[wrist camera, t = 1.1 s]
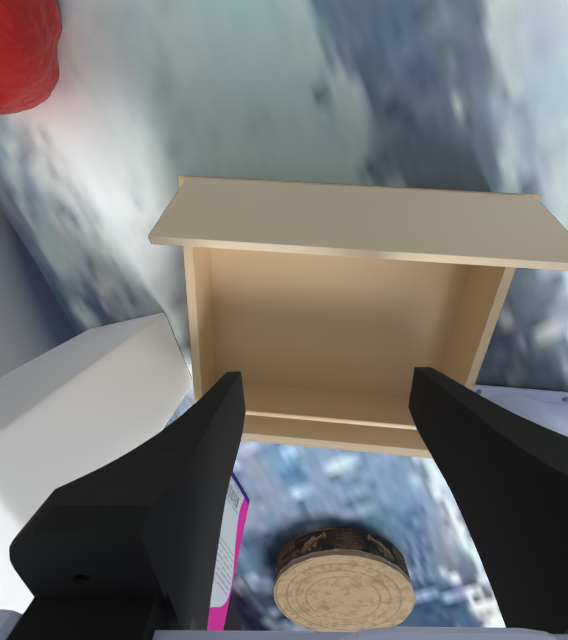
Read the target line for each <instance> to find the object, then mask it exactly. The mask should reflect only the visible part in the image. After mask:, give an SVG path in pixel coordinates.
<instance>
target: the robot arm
mask: <svg viewBox="0 0 568 640" xmlns="http://www.w3.org/2000/svg"><path fill="white" fill-rule="evenodd" d="M476 390H478V391H477V392H475V391H476ZM408 408H409V411H410V413H411V416H412V418H413V421H414V423H415V426H416V428H417V430H418V432H419V434H420V436H421V438H422V440H423V441H424V443H425V445H426V447H427V449H428V450H429V452H430V454H431V456H432V457H433V459H434V461H435V463H436V464H437V466H438V468H439V470H440V471H441V473H442V475H443V477H444V478H445V480H446V482H447V484H448V486H449V488H450V490H451V492H452V494H453V496H454V498H455V500H456V502H457V505H458V507H459V509H460V511H461V514H462V516H463V518H464V520H465V523H466V525H467V527H468V530H469V532H470V535H471V537H472V539H473V542H474V544H475V547H476V549H477V551H478V554H479V556H480V559H481V561H482V564H483V567H484V569H485V572H486V574H487V577H488V579H489V582H490V585H491V587H492V590H493V592H494V595H495V598H496V600H497V603H498V606H499V609H500V612H501V614H502V617H503V620H504V623H505V626H506V628H474V627H380V628H372V629H364V630H359V631H357V632H303V631H207V626H208V618H209V610H210V602H211V594H212V587H213V580H214V572H215V565H216V558H217V551H218V545H219V538H220V532H221V525H222V519H223V513H224V507H225V501H226V496H227V491H228V487H229V482H230V479H231V475H232V471H233V467H234V464H235V460H236V456H237V452H238V449H239V445H240V441H241V437H242V433H243V427H244V420H245V412H246V409H245V400H244V392H243V384H242V375H241V371H235V372H226V373H225V374H224V375H223V376H222V377H221V378H220V379H219V380H218V381H217V382H216V383H215V384H214V385H213V386H212V387H211V388H210V389H209V390H208V391H207V392H206V393H205V394H204V395H203V396H202V397H201V398H200V399H199V400H198V401H197V402H196V403H195V404H194V405H193V406H192V407H191V408H189V409H188V410H187V411H186V412H185V413H184V414H183V415H181V416H180V417H179V418H178V419H177V420H175V421H174V422H173V423H171V424H170V425H169V426H167V427H166V428H165V429H163V430H162V431H161V432H159V433H158V434H156V435H155V436H153V437H152V438H150V439H149V440H147V441H146V442H144V443H143V444H141V445H139V446H138V447H136V448H135V449H133V450H131V451H130V452H128V453H126V454H125V455H123V456H121V457H119V458H118V459H116V460H114V461H112V462H110V463H108V464H106V465H105V466H103V467H101V468H99V469H97V470H95V471H93V472H91V473H89V474H86V475H84V476H82V477H80V478H78V479H76V480H74V481H72V482H69V483H67V484H65V485H63V486H61V487H58V488H56V489H55V490H54V491H53V492H52V493H51V494H50V495H49V497H48V498H47V499H46V500H45V502H44V503H43V504H42V505H41V506H40V508H39V509H38V510H37V511H36V512H35V514H34V515H33V516H32V517H31V519H30V520H29V521H28V522H27V523H26V525H25V526H24V527H23V528H22V529H21V531H20V532H19V533H18V534H17V536H16V537H15V538H14V539H13V541H12V543H11V545H10V547H9V557H10V562H11V564H12V566H13V568H14V570H15V571H16V572H17V574H18V575H19V577H20V578H21V579H22V581H23V582H24V583H25V585H26V586H27V588H28V589H29V590H30V592H31V593H32V595H33V596H34V598H33V600H32V602H31V603H30V605H29V606H28V608H27V609H26V611H25V612H24V614H23V615H22V614H21V613H18V612H16V611H13V610H6V609H0V640H568V392H560V391H548V390H536V389H524V388H512V387H500V386H488V385H474V388H473V391H472V390H470V389H468V388H467V387H465V386H463V385H461V384H460V383H458V382H456V381H455V380H453V379H451V378H450V377H448V376H446V375H444V374H443V373H441V372H439V371H437V370H435V369H433V368H431V367H415V368H414V374H413V380H412V387H411V393H410V399H409V405H408Z"/></svg>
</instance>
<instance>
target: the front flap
mask: <svg viewBox="0 0 568 640" xmlns="http://www.w3.org/2000/svg"><path fill="white" fill-rule="evenodd" d="M148 237H149V240H150V242H151V244H161V245H176V246H192V247H207V248H222V249H238V250H253V251H269V252H284V253H299V254H315V255H330V256H346V257H361V258H376V259H392V260H407V261H423V262H438V263H454V264H469V265H484V266H500V267H515V268H531V269H546V270H561V271H568V231H567V230H566V229H565V228H564V227H563V225H562V224H561V223H560V222H559V221H558V220H557V219H556V218H555V217H554V216H553V215H552V214H551V213H550V212H549V211H548V210H547V209H546V208H545V206H544V205H543V204H542V203H541V202H540V201H539V200H538V199H537V198H536V197H535V196H519V195H501V194H482V193H464V192H445V191H427V190H409V189H390V188H372V187H353V186H335V185H316V184H298V183H279V182H261V181H242V180H224V179H205V178H186V179H185V181H184V182H183V184H182V185H181V187H180V188H179V190H178V191H177V193H176V194H175V196H174V197H173V199H172V200H171V202H170V203H169V205H168V206H167V208H166V210H165V211H164V213H163V214H162V216H161V217H160V219H159V220H158V222H157V223H156V225H155V226H154V228H153V229H152V231H151V232H150V234H149V235H148Z"/></svg>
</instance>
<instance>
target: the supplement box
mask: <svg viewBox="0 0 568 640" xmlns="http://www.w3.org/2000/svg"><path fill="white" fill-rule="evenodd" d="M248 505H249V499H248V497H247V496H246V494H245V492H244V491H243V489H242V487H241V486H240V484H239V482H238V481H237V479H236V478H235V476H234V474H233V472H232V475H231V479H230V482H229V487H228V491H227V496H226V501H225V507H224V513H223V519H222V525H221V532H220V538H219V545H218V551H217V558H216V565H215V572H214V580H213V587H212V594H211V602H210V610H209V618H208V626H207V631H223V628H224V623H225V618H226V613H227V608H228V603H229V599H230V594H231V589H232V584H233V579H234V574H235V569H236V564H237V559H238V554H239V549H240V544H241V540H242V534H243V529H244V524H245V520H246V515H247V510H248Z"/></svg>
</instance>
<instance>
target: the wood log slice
mask: <svg viewBox="0 0 568 640" xmlns="http://www.w3.org/2000/svg"><path fill="white" fill-rule="evenodd" d="M415 598H416V597H415V594H414V590H413V587H412V584H411V580H410V577H409V573H408V570H407V567H406V563H405V560H404V557H403V555H402V554H401V553H400V552H399V551H398V550H397V549H396V547H395V546H394V545H393V544H392V543H390V542H388V541H386V540H384V539H383V538H381V537H379V536H377V535H376V534H372V533H368V532H365V531H361V530H357V529H350V528H326V529H320V530H313V531H310V532H307V533H305V534H303V535H300V536H298V537H295V538H293V539H292V540H291V541H290V542H289V543H288V544H286V545H285V546H284V547H283V548H282V549H281V551H280V553H279V555H278V557H277V559H276V566H275V579H274V600H275V602H276V604H277V606H278V607H279V609H280V611H281V612H282V613H283V614H284V615H285V616H287V617H288V618H289V619H290V620H291V621H293V622H294V623H296V624H298V625H300V626H302V627H305V628H307V629H309V630H311V631H315V632H357V631H359V630H364V629H372V628H380V627H394V626H395V625H397V624H399V623H401V622H403V621H404V619H405V618H406V617H407V616H408V615H409V614H410V613H411V611H412V610H413V606H414V602H415Z"/></svg>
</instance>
